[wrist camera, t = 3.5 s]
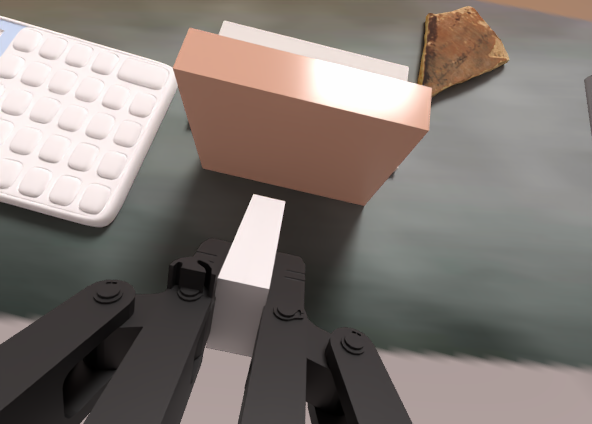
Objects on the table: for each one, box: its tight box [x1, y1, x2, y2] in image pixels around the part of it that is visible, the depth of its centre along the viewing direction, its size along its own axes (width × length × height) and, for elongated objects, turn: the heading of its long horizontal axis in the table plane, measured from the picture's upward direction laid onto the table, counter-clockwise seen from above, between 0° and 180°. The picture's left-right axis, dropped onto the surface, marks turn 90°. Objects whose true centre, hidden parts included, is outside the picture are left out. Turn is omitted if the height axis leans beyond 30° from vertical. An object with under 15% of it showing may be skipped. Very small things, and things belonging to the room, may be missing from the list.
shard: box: [418, 6, 509, 98], centre depth 31 cm, size 11×8×2 cm
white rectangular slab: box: [219, 21, 409, 172], centre depth 28 cm, size 16×10×1 cm, turn 79°
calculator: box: [0, 16, 178, 227], centre depth 24 cm, size 13×20×2 cm, turn 76°
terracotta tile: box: [173, 28, 432, 206], centre depth 21 cm, size 12×3×10 cm, turn 79°
